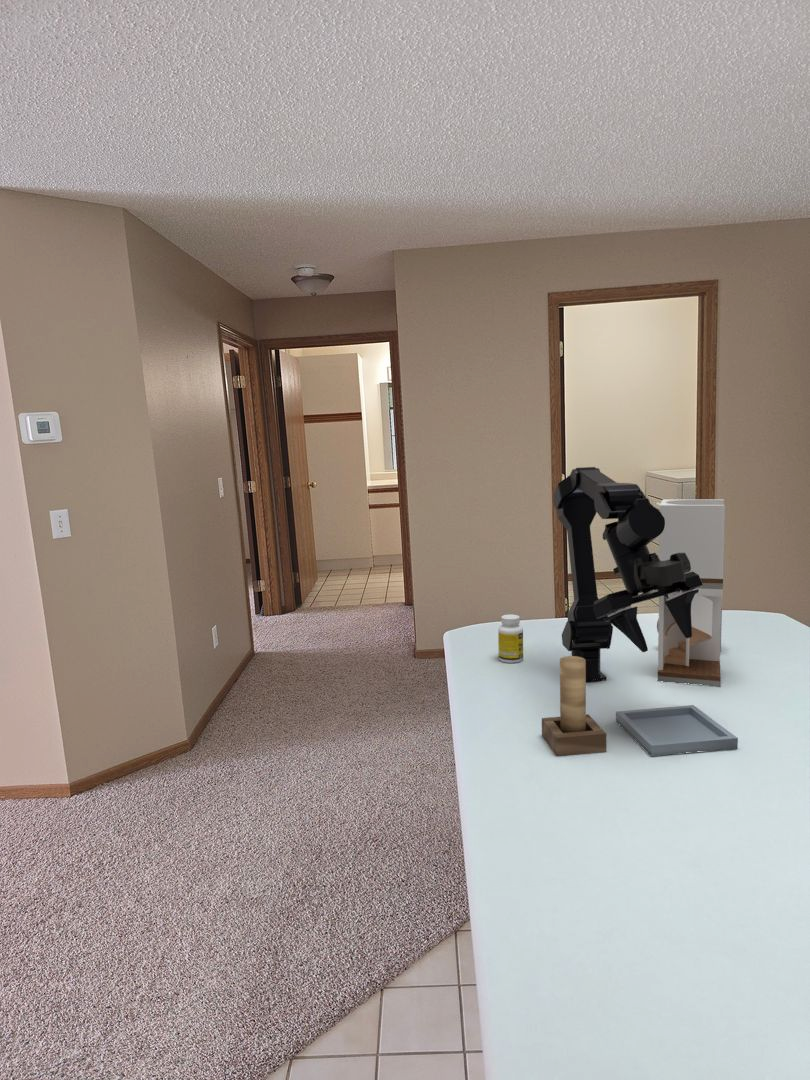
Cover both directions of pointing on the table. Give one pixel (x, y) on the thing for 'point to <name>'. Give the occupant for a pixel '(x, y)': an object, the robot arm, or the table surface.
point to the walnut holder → (573, 738)
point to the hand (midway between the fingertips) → (667, 644)
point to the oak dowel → (572, 694)
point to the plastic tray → (675, 730)
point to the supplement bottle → (510, 639)
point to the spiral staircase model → (702, 541)
